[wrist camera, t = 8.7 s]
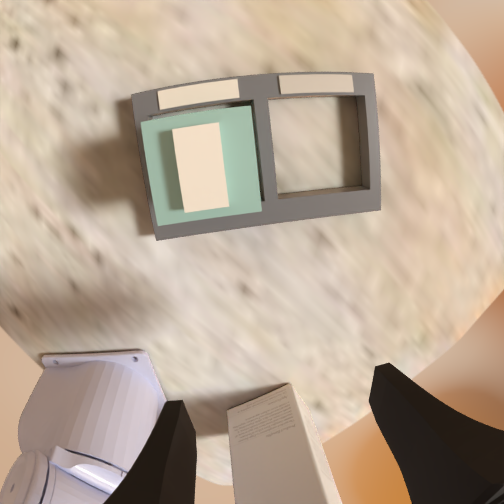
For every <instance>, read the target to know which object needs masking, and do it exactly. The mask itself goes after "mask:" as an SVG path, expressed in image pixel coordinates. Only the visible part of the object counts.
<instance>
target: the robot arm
mask: <svg viewBox="0 0 504 504" xmlns="http://www.w3.org/2000/svg"><path fill="white" fill-rule="evenodd" d="M133 356H134V357H137V359H136V358H134V357H133ZM41 360H42V363H43V365H44V366H45V369H44V371H43V373H42V375H41V377H40V379H39V381H38V382H37V385H36V386H35V388H34V390H33V392H32V394H31V396H30V398H29V400H28V402H27V404H26V406H25V408H24V410H23V412H22V414H21V417H20V420H19V426H18V440H19V446H20V449H21V452H22V454H21V455H20V456H19V457H18V458H17V460H16V461H15V463H14V464H13V466H12V467H11V469H10V471H9V473H8V475H7V477H6V479H5V482H4V484H3V486H2V489H1V492H0V504H194V499H195V480H196V463H197V448H196V432H195V429H194V427H193V425H192V422H191V420H190V417H189V415H188V413H187V410H186V408H185V405H184V403H183V400H177V401H167V399H166V397H165V395H164V392H163V390H162V388H161V385H160V383H159V381H158V378H157V376H156V373H155V371H154V368H153V366H152V363H151V360H150V358H149V355H148V354H147V353H146V352H145V351H141V350H139V351H125V352H110V353H91V354H64V355H44V356H43V357H42V359H41ZM56 360H57V361H58V362H57V361H56ZM369 403H370V406H371V409H372V412H373V414H374V417H375V420H376V422H377V424H378V426H379V428H380V430H381V432H382V434H383V436H384V438H385V440H386V442H387V444H388V445H389V447H390V449H391V451H392V453H393V455H394V457H395V459H396V461H397V463H398V465H399V467H400V470H401V472H402V475H403V478H404V481H405V483H406V486H407V489H408V492H409V495H410V499H411V502H412V504H504V431H503V430H499V429H496V428H493V427H490V426H488V425H485V424H483V423H480V422H478V421H476V420H473V419H471V418H469V417H467V416H465V415H463V414H461V413H459V412H457V411H456V410H454V409H452V408H451V407H449V406H448V405H446V404H444V403H443V402H441V401H439V400H438V399H437V398H435V397H434V396H432V395H431V394H430V393H428V392H427V391H425V390H424V389H423V388H421V387H420V386H419V385H417V384H416V383H415V382H413V381H412V380H411V379H410V378H408V377H407V376H406V375H404V374H403V373H402V372H401V371H399V370H398V369H397V368H396V367H394V366H393V365H392V364H390V363H386V364H382V365H379V366H375V371H374V376H373V382H372V387H371V392H370V397H369Z"/></svg>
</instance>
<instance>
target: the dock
mask: <svg viewBox="0 0 504 504" xmlns="http://www.w3.org/2000/svg"><path fill="white" fill-rule="evenodd" d="M131 96H132V104H133V112H134V120H135V127H136V134H137V141H138V147H139V153H140V159H141V165H142V171H143V177H144V183H145V188H146V193H147V199H148V204H149V209H150V214H151V219H152V223H153V228H154V233H155V237H156V241H158V240H165V239H171V238H178V237H184V236H191V235H198V234H204V233H211V232H218V231H225V230H232V229H239V228H246V227H253V226H260V225H268V224H275V223H283V222H290V221H298V220H305V219H313V218H321V217H329V216H337V215H345V214H354V213H362V212H371V211H379V210H381V169H380V143H379V126H378V113H377V101H376V91H375V82H374V74H372V73H352V72H294V73H273V74H259V75H247V76H237V77H228V78H220V79H212V80H205V81H198V82H192V83H186V84H180V85H174V86H169V87H164V88H159V89H154V90H149V91H144V92H140V93H136V94H131ZM302 97H356V100H357V111H358V123H359V137H360V154H361V177H362V186H352V187H342V188H332V189H322V190H312V191H303V192H294V193H286V194H278V193H277V183H276V173H275V163H274V153H273V143H272V134H271V125H270V116H269V107H268V100H270V99H284V98H302ZM248 101H251V103H252V112H253V120H254V129H255V138H256V147H257V156H258V165H259V174H260V183H261V192H262V197H261V207H262V211H261V212H253V213H246V214H238V215H231V216H223V217H216V218H209V219H202V220H195V221H188V222H181V223H175V224H168V225H162V226H158V224H157V219H156V214H155V209H154V204H153V198H152V193H151V187H150V181H149V175H148V169H147V163H146V157H145V150H144V143H143V136H142V129H141V122H144V121H149V120H152V116H156V115H161V114H166V113H171V112H177V111H182V110H188V109H194V108H201V107H207V106H215V105H222V104H230V103H239V102H248Z"/></svg>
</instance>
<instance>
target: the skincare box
mask: <svg viewBox="0 0 504 504" xmlns="http://www.w3.org/2000/svg"><path fill="white" fill-rule="evenodd" d="M227 419H228V433H229V444H230V455H231V466H232V478H233V487H234V497H235V504H342V501H341V498H340V496H339V493H338V490H337V488H336V485H335V482H334V479H333V476H332V473H331V470H330V467H329V464H328V462H327V459H326V456H325V453H324V450H323V447H322V444H321V441H320V438H319V435H318V432H317V430H316V427H315V424H314V421H313V418H312V415H311V412H310V409H309V408H308V407H307V405H306V404H305V403H304V401H303V400H302V398H301V397H300V396H299V394H298V393H297V391H296V390H295V388H294V387H293V385H292V384H287V385H285V386H283V387H281V388H279V389H276V390H274V391H272V392H270V393H267V394H265V395H263V396H261V397H258V398H256V399H254V400H251V401H249V402H246V403H244V404H242V405H239V406H237V407H234V408H232V409H229V410H227Z"/></svg>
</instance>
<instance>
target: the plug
mask: <svg viewBox="0 0 504 504" xmlns="http://www.w3.org/2000/svg"><path fill="white" fill-rule="evenodd" d="M141 129H142V136H143V143H144V150H145V157H146V163H147V169H148V175H149V181H150V187H151V193H152V198H153V204H154V209H155V214H156V219H157V224H158V226H162V225H168V224H175V223H181V222H188V221H195V220H202V219H209V218H216V217H223V216H231V215H238V214H246V213H253V212H261V211H262V207H261V197H260V187H259V177H258V168H257V158H256V149H255V139H254V130H253V121H252V112H251V106H241V107H232V108H223V109H215V110H208V111H201V112H194V113H188V114H182V115H176V116H170V117H164V118H159V119H154V120H149V121H144V122H141Z"/></svg>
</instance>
